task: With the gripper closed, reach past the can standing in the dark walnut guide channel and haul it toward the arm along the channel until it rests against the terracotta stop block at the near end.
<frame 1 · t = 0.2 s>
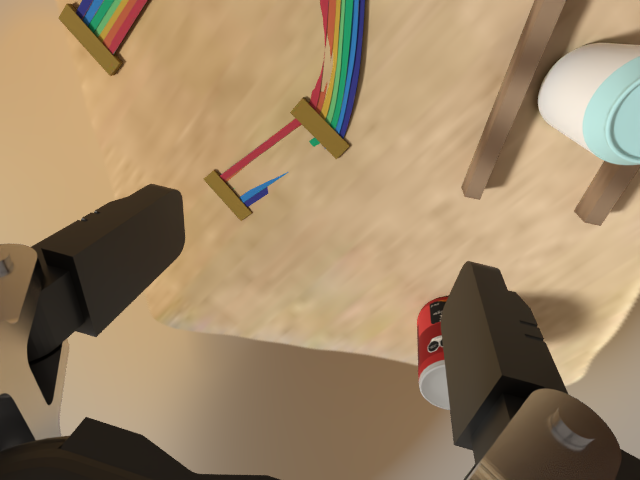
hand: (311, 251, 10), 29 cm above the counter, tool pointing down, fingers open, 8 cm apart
can: (580, 88, 31), resting in channel
canned food: (447, 316, 46), on the counter
channel: (594, 63, 29), on the counter
ribbon cable: (249, 41, 35), on the counter
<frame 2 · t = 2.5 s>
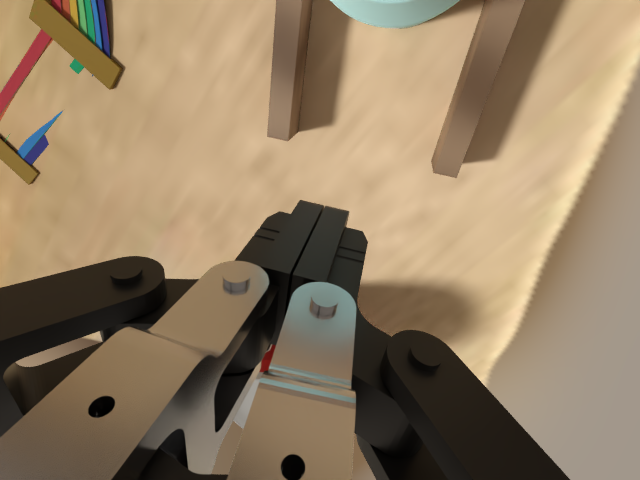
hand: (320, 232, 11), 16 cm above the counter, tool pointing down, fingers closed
canned food: (306, 313, 36), on the counter
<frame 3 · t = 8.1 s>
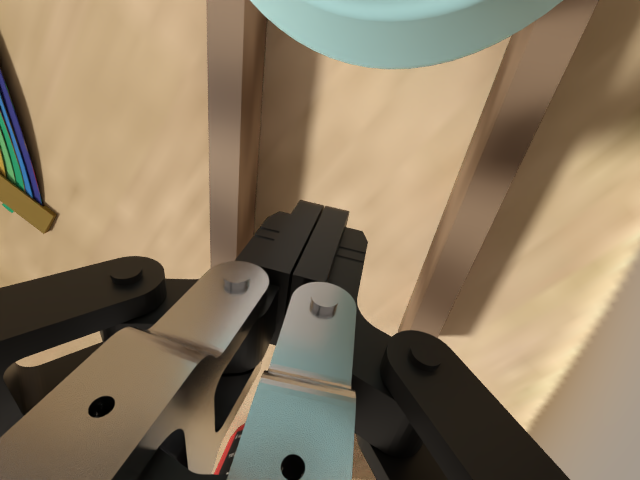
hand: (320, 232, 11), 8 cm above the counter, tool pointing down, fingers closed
canned food: (272, 443, 32), on the counter
channel: (367, 100, 16), on the counter
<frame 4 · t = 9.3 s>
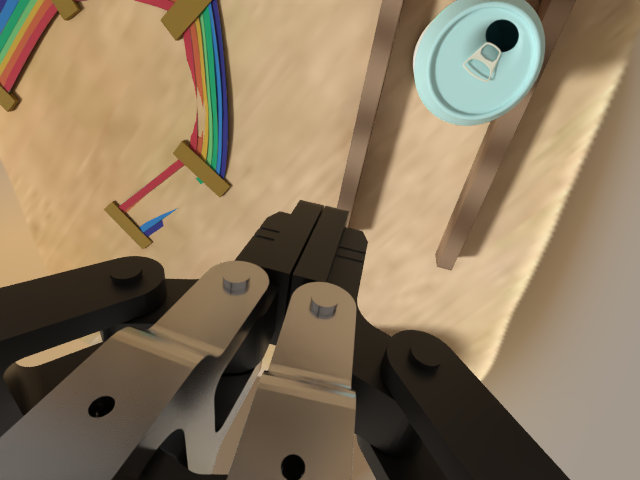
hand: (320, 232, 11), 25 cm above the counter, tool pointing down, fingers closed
can: (456, 57, 29), resting in channel
channel: (429, 124, 32), on the counter
ribbon cable: (131, 87, 37), on the counter
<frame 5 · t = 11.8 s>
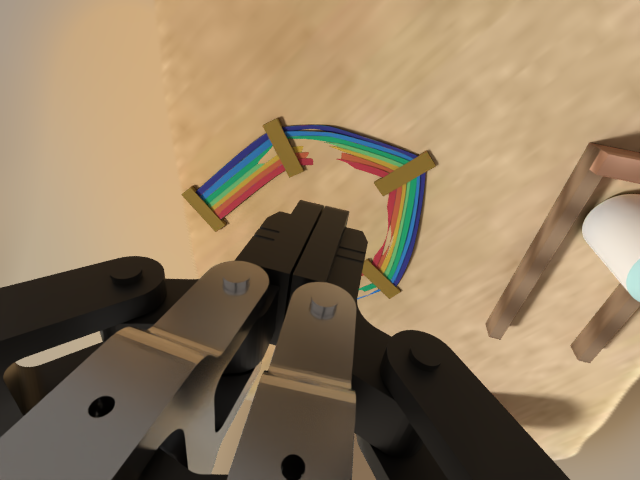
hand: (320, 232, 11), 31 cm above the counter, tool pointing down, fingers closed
can: (616, 220, 38), resting in channel
channel: (585, 261, 41), on the counter
ribbon cable: (329, 220, 47), on the counter
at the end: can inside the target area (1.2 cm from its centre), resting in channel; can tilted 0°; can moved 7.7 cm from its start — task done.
